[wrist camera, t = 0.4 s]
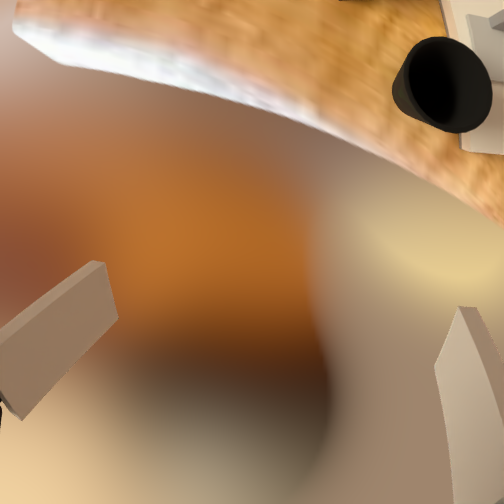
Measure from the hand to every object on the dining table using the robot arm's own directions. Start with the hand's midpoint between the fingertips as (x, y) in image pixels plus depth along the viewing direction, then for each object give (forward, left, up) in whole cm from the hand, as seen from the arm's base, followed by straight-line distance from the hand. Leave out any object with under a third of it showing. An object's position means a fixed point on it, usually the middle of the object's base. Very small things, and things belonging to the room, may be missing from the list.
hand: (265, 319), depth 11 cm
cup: (-9, +12, -27) cm, 31 cm away
